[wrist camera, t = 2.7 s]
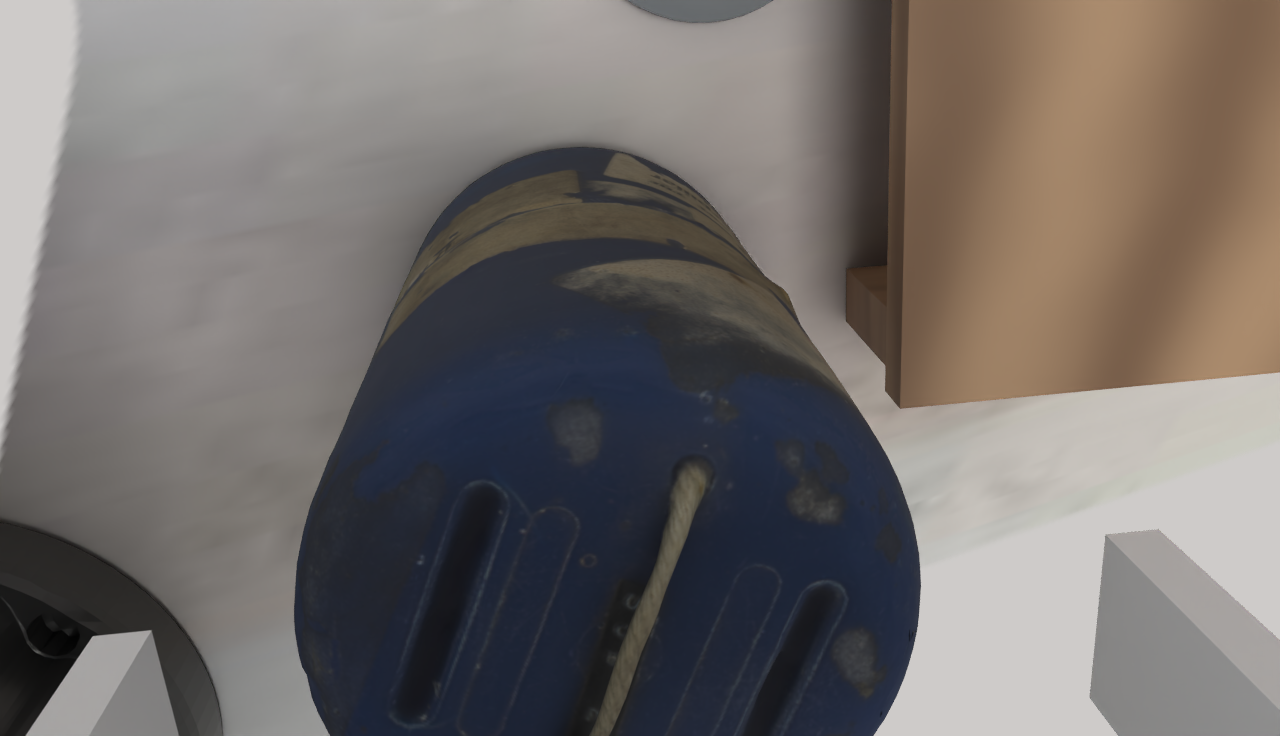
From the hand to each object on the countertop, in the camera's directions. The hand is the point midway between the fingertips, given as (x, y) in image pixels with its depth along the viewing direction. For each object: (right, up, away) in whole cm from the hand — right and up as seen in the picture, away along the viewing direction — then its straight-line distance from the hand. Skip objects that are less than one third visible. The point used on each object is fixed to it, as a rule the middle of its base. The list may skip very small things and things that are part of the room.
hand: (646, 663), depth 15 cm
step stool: (+12, +12, +15) cm, 22 cm away
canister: (-2, +6, +16) cm, 17 cm away
